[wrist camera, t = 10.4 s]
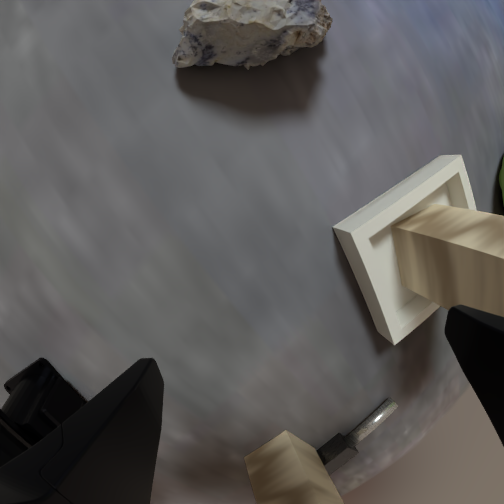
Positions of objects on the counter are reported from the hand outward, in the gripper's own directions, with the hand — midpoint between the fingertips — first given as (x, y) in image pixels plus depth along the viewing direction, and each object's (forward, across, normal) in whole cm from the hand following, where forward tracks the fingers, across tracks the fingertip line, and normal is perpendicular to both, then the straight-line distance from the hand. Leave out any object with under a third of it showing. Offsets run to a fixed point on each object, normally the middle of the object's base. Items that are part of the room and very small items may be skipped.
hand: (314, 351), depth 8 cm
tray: (+14, -12, +3) cm, 18 cm away
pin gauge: (+11, -5, +22) cm, 25 cm away
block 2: (+13, -12, +3) cm, 18 cm away
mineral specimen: (+14, 0, -14) cm, 20 cm away
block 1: (+10, +1, +21) cm, 23 cm away
